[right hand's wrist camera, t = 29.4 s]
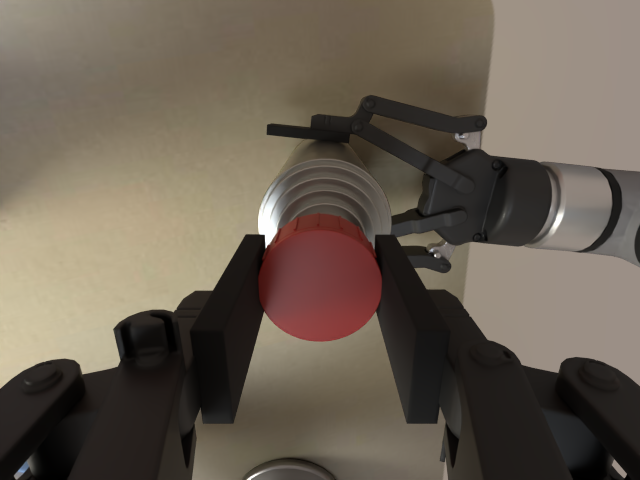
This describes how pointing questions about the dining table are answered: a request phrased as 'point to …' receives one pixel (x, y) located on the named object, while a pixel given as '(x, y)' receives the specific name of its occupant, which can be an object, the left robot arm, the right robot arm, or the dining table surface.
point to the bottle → (325, 190)
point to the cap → (319, 278)
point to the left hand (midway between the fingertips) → (267, 177)
